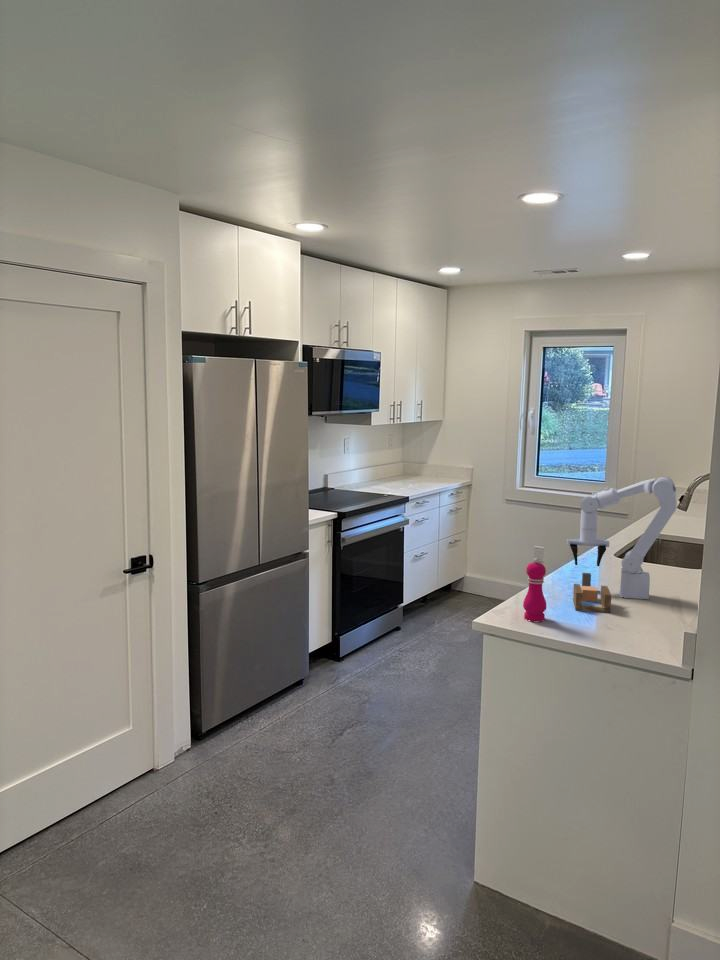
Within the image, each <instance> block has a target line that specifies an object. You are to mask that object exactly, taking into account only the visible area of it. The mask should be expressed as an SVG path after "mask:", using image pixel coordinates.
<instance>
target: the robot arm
mask: <svg viewBox="0 0 720 960" xmlns="http://www.w3.org/2000/svg"><path fill="white" fill-rule="evenodd" d="M641 493H644V494H648V495H652V494H653V495H654V496H655V497H656V499H657V500H658V504H659V507H660V508H659V510H657V513H656V514H655V516H654V517H653V519H652V520H651V522H650V523H649V524H648V526H647V527H646V529H645V530H644V532H643V534H641V536H640V538H639V539H638V541H637V542H636V543H635V545H634V546H633V548H632V549H630V550H629V551H627V552H626V553H625V555H624V557H622V560H621V566H622V567H621V569H620V570H621V571H620V587H619V589H618V590H617V592H618V594H619V598H622V597H624V599H638V600H650V585H651V584H650V582H651V581H650V580H651V579H650V578H651V577H650V573H649V572H648V571H644V569H643V567H641V566H642V564H643V563H644V560H645V557H646V555H647V553H648V552H649V550H650V549H651V548H652V546H653V545H654V543H655V542H656V540H657V538H658V537H659V535H660V534H661V532H662V531H663V529H664V528H665V527H666V525H667V524H668V522H669V521H670V520H671V518H672V517H673V515H674V513H675V512H676V510H677V509H678V508H677V506H678V505H677V487H676V486H675V483H674V481H673V480H672V479H671V478H670V477H668V476H660V477H657V478H650V479H647V480H645V479H644V480H642V481H639V482H636V483H634V484H631V485H629V486H625V487H622V488H619V489H616V488H613V487H611V488H610V487H606V488H604V490H602V491H599V492H592V493H591V494H588V495H586V496H584V497H583V498H582V499H581V500H580V502H579V507H580V509H581V510H580V513H581V515H580V523H579V524H580V525H579V526H580V529H579V530H580V531H579V538H567V539H566V545H567V546H569V547H570V550H571V552H572V554H573V558H574V559H573V560H574V565H575V566H577V565H578V549H579V548H578V546H586V547H590V546H591V547H597V557H596V566H597V567H600V564H601V561H602V559H603V556H604V554H605V552H606V550H607V548H609V547H610V541H609V540H604V539H603V540H602V539H601V540H600V539H597V537H598V536H597V533H598V532H597V531H598V509H600V510H601V509H604V508H607V507H611V506H613V505H616V504H619V502H620V500H621V499H624V498H627V497H630V496H634V495H637V494H641Z"/></svg>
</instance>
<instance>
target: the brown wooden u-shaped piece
mask: <svg viewBox="0 0 720 960" xmlns="http://www.w3.org/2000/svg"><path fill="white" fill-rule="evenodd" d="M581 586H582V585H581V584H580V583H574V584H573V595H572V596H573V597H572V601H573V602H572V603H573V606H574V610H575V611H578V612H581V611H582V612H593V613H605V612H606V613H605V614H607V613H609V614H611V611H612V610H611V609H612V593H611V592H610V589H609V587H608V586H609V585H600V598H599V599H600V600H599V601H600V602H601V603H600V605H602V606H595V605H583V601H582V596H583V593H582V590H581Z"/></svg>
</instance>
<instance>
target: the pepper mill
mask: <svg viewBox="0 0 720 960" xmlns="http://www.w3.org/2000/svg"><path fill="white" fill-rule="evenodd" d="M525 571H526V575H527V576H528V577H527V582H528V588H527V589H528V590H527V592H526V594H525V597H524V600H523V602H522V603H523V604H522V606H523V609H524V610H525V611H524V616H523V617H524V620H526V619H527V620H526V621H528V620H530V621H529V622H531V621H541V622H543V620H544V621H545V617H546V616H545V613H544V612H545V611H546V610H547V601H546V598H545V596H544V593H543V592H544V591H543V584H544V582H545V581H544V580H545V579H544V577H545V575H547V573H546V572H547V569H546V567H545V565H544V564H542V563H541V562H540V559H539V558H538V557H534V558H533V562H530V563H529V564H528V565H527V566H526V570H525Z"/></svg>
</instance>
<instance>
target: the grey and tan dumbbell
mask: <svg viewBox="0 0 720 960" xmlns="http://www.w3.org/2000/svg"><path fill="white" fill-rule="evenodd" d="M591 583H592V574H591V572H582V575H581V585H580V586H581V590H582V593H583V596H582V602H590V603H591V602H592V603H598V600H599V599H598V598H599V596H598V595H599V590H598V587H597V586H591Z"/></svg>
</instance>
